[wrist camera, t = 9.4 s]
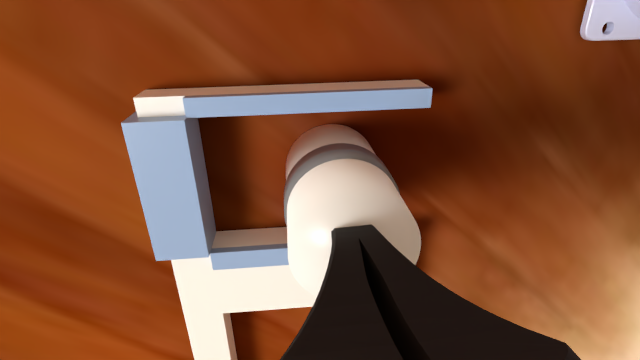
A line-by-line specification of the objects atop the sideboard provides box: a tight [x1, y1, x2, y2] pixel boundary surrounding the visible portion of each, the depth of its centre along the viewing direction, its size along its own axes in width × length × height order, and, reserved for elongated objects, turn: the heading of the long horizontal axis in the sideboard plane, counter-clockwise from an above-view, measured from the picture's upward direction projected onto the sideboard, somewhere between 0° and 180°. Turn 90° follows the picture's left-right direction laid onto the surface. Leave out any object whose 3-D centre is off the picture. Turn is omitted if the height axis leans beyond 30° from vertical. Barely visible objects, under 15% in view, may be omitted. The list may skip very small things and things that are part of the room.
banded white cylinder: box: [284, 124, 421, 297], centre depth 16 cm, size 5×5×7 cm
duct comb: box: [121, 80, 433, 360], centre depth 20 cm, size 12×19×2 cm, turn 1°
